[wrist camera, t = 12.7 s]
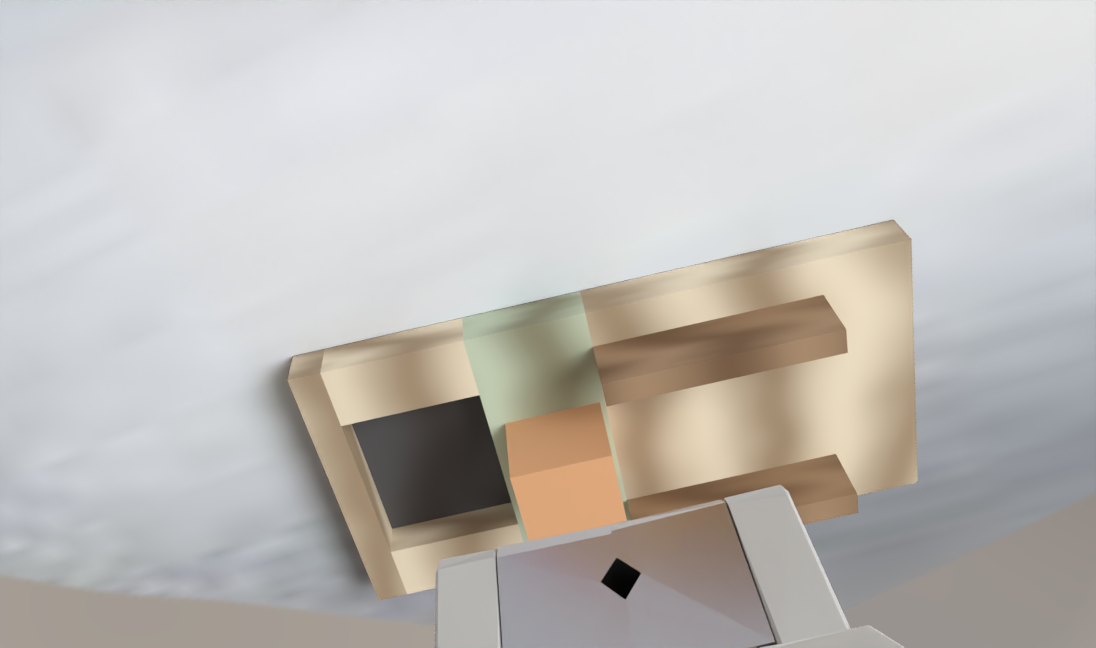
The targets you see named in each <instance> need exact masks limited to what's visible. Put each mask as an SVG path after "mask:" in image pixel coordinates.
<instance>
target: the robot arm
mask: <svg viewBox="0 0 1096 648" xmlns="http://www.w3.org/2000/svg"><path fill="white" fill-rule="evenodd" d="M435 648H905V647H903V646H901V645H900V644H898V643H897V642H895V641H893V640H892V639H890V638H889V637H887V636H886V635H884V634H882V633H881V632H879V631H878V630H876V629H874V628H873V627H871V626H870V625H868V626H862V627H857V628H851V629H850V627H849V625H848V623H847V620H846V618H845V616H844V613H843V611H842V609H841V607H840V605H839V602H838V600H837V598H836V596H835V594H834V591H833V589H832V587H831V585H830V582H829V580H828V578H827V576H826V574H825V571H824V569H823V567H822V565H821V563H820V560H819V558H818V556H817V554H816V551H815V549H814V547H813V545H812V543H811V540H810V538H809V536H808V534H807V532H806V529H805V527H804V525H803V523H802V520H801V518H800V516H799V514H798V512H797V509H796V507H795V505H794V503H793V501H792V498H791V496H790V494H789V492H788V491H787V490H786V489H785V488H784V487H783V486H781V485H777V486H772V487H768V488H764V489H760V490H756V491H751V492H747V493H743V494H739V495H735V496H730V497H726V498H724V501H722V500H717V501H712V502H708V503H703V504H699V505H695V506H690V507H686V508H682V509H677V510H673V511H668V512H664V513H660V514H655V515H651V516H647V517H642V518H638V519H633V520H629V521H625V522H620V523H616V524H612V525H608V526H603V527H598V528H593V529H588V530H583V531H578V532H573V533H567V534H562V535H557V536H552V537H547V538H542V539H537V540H532V541H527V542H522V543H516V544H511V545H506V546H501V547H498V549H493V550H488V551H482V552H477V553H472V554H467V555H461V556H456V557H451V558H446V559H441V560H440V562H439V565H438V568H437V571H436V576H435Z"/></svg>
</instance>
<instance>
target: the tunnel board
mask: <svg viewBox="0 0 1096 648" xmlns="http://www.w3.org/2000/svg"><path fill="white" fill-rule="evenodd" d="M287 381H288V383H289V386H290V388H291V391H292V393H293V395H294V398H295V400H296V403H297V405H298V407H299V410H300V412H301V415H302V417H303V419H304V422H305V424H306V427H307V429H308V431H309V434H310V436H311V439H312V441H313V443H314V446H315V448H316V451H317V453H318V455H319V458H320V460H321V463H322V465H323V467H324V470H325V472H326V475H327V477H328V479H329V482H330V484H331V487H332V489H333V491H334V494H335V496H336V499H337V501H338V503H339V506H340V508H341V511H342V513H343V515H344V518H345V520H346V523H347V525H348V527H349V530H350V532H351V535H352V537H353V539H354V542H355V544H356V547H357V549H358V551H359V554H360V556H361V559H362V561H363V563H364V566H365V568H366V571H367V573H368V576H369V578H370V580H371V583H372V585H373V588H374V590H375V592H376V595H377V597H378V600H383V599H388V598H392V597H397V596H401V595H406V594H410V593H415V592H419V591H424V590H429V589H433V588H435V576H436V571H437V568H438V565H439V562H440V560H441V559H446V558H451V557H456V556H461V555H467V554H472V553H477V552H482V551H488V550H493V549H498V547H501V546H506V545H511V544H516V543H522V542H527V541H529V540H528V537H527V533H526V530H525V527H524V523H523V520H522V517H521V513H520V510H519V507H518V503H517V500H516V497H515V493H514V490H513V487H512V483H511V480H510V472H509V461H508V450H507V439H506V428H505V423H509V422H514V421H518V420H523V419H527V418H531V417H536V416H540V415H545V414H549V413H554V412H558V411H562V410H567V409H571V408H576V407H580V406H584V405H589V404H593V403H598V402H600V405H601V410H602V414H603V418H604V423H605V427H606V431H607V436H608V440H609V444H610V449H611V453H612V457H613V462H614V466H615V470H616V475H617V479H618V484H619V488H620V492H621V497H622V501H623V505H624V510H625V514H626V519H627V521H629V520H633V519H638V518H642V517H647V516H651V515H655V514H660V513H664V512H668V511H673V510H677V509H682V508H686V507H690V506H695V505H699V504H703V503H708V502H712V501H717V500H722V501H724V498H726V497H730V496H735V495H739V494H743V493H747V492H751V491H756V490H760V489H764V488H768V487H772V486H777V485H781V486H783V487H784V488H785V489H786V490H787V491H788V492H789V494H790V496H791V498H792V501H793V503H794V505H795V507H796V509H797V512H798V514H799V516H800V518H801V520H802V523H803V525H804V524H808V523H813V522H818V521H822V520H827V519H831V518H836V517H840V516H845V515H849V514H854V513H858V499H857V495H862V494H866V493H871V492H875V491H880V490H885V489H889V488H894V487H898V486H903V485H907V484H912V483H916V482H917V445H916V406H915V367H914V327H913V288H912V248H911V238H910V237H909V236H908V235H907V234H906V233H905V232H904V231H903V229H902V228H901V227H900V226H899V225H898V224H897V223H896V222H895V221H894V220H891V221H886V222H882V223H878V224H873V225H869V226H864V227H860V228H856V229H851V230H847V231H842V232H838V233H834V234H829V235H825V236H820V237H816V238H812V239H807V240H803V241H798V242H794V243H790V244H785V245H781V246H776V247H772V248H768V249H763V250H759V251H754V252H750V253H746V254H741V255H737V256H732V257H728V258H724V259H719V260H715V261H710V262H706V263H702V264H697V265H693V266H688V267H684V268H680V269H675V270H671V271H666V272H662V273H658V274H653V275H649V276H644V277H640V278H636V279H631V280H627V281H622V282H618V283H614V284H609V285H605V286H600V287H596V288H592V289H587V290H583V291H578V292H574V293H570V294H565V295H561V296H556V297H552V298H548V299H543V300H539V301H534V302H530V303H526V304H521V305H517V306H512V307H508V308H504V309H499V310H495V311H490V312H486V313H482V314H477V315H473V316H468V317H464V318H460V319H455V320H451V321H446V322H442V323H438V324H433V325H429V326H424V327H420V328H416V329H411V330H407V331H402V332H398V333H394V334H389V335H385V336H380V337H376V338H372V339H367V340H363V341H358V342H354V343H350V344H345V345H341V346H336V347H332V348H328V349H323V350H319V351H314V352H310V353H306V354H301V355H297V356H293V358H292V363H291V367H290V371H289V375H288V380H287Z"/></svg>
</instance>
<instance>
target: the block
mask: <svg viewBox="0 0 1096 648" xmlns="http://www.w3.org/2000/svg"><path fill="white" fill-rule="evenodd" d="M505 428H506V439H507V450H508V461H509V472H510V480H511V483H512V487H513V490H514V493H515V497H516V500H517V503H518V507H519V510H520V513H521V517H522V520H523V523H524V527H525V530H526V533H527V537H528V540H529V541H532V540H537V539H542V538H547V537H552V536H557V535H562V534H567V533H573V532H578V531H583V530H588V529H593V528H598V527H603V526H608V525H612V524H616V523H620V522H625V521H627V519H626V514H625V510H624V505H623V501H622V497H621V492H620V488H619V484H618V479H617V475H616V470H615V466H614V462H613V457H612V453H611V449H610V444H609V440H608V436H607V431H606V427H605V423H604V418H603V414H602V410H601V405H600V402H598V403H593V404H589V405H584V406H580V407H576V408H571V409H567V410H562V411H558V412H554V413H549V414H545V415H540V416H536V417H531V418H527V419H523V420H518V421H514V422H509V423H505Z"/></svg>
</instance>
